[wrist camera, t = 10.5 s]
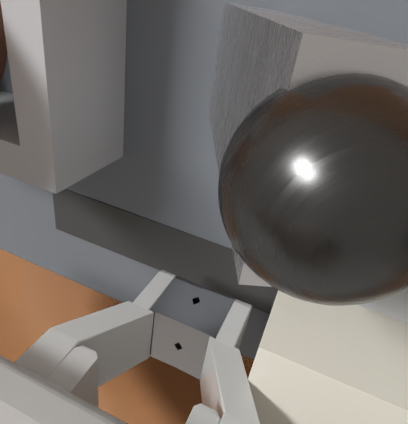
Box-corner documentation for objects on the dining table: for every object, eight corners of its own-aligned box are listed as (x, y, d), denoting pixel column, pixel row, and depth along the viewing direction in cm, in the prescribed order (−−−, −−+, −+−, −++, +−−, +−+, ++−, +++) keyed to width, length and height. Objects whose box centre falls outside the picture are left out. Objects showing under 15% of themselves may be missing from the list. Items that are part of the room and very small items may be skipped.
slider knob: (382, 390, 11) (386, 531, 8) (261, 340, 12) (224, 447, 9) (445, 300, 9) (481, 442, 6) (292, 247, 10) (258, 347, 7)
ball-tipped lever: (271, 121, 9) (434, 378, 3) (192, 111, 9) (205, 368, 3) (297, 13, 8) (652, 101, 2) (206, -1, 8) (280, 45, 2)
